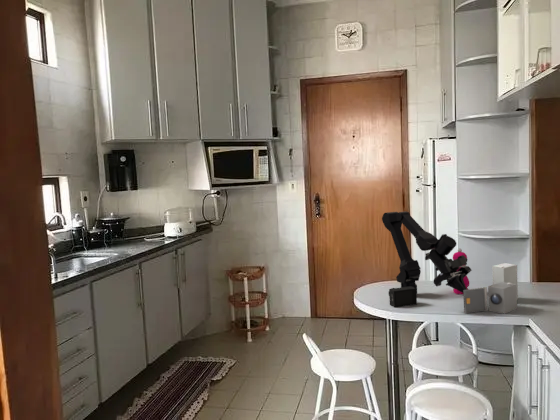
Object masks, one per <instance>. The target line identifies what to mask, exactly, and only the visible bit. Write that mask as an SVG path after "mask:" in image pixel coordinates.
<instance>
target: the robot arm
mask: <svg viewBox="0 0 560 420" xmlns="http://www.w3.org/2000/svg"><path fill="white" fill-rule="evenodd" d="M381 221H382V223H383V225H384V227H385V229H387V230H388V231H389V232H390V235H391V237H392V240H393V243H394V245H395V249H396V252H397V255H398V257H399V260H400V263H399V273H398V274H397V276H395V278H396V282H398V283H400V288H401V287H409V286H412V287H414V288H416V294H418V284H417V283H416V282H419V280H420V276H421V267H420V264H419V261H418V259H414V258H413V257H412V256H411V253H410V250H409V247H408V244H407V242H406V238H405V236H404V233H403V231H402V226H404V227H405V228H406V229H407V230H408V231H409V233H411V235H412V236H413V237H414V239H415V243H416V245H417V247H419V249H420V251H422V252H426V251H429V252H426V253H425V254H424V255H425V257H424V261H428V260H430V261H431V262H432V264H433V265H434V266H435V267H436V268H435V271H438V272H440V273H438V275H436V276H435V278H433V284H434V285H435V286H436V287H437V288H438V287H439V286H441V285H442V282H443V281H446V282H447V283H445V286H448V287H451V288H452V289H453V290H454V289H456V290H458V291H460V292H462V293H463V290H467V289H466V286H465V283H464V280H463V278H464V277H465V276H466V275H467V276H468V275H469V274H470V273H471V272H472V271H473V270H472V268H471V267H470V266H469V265H468V257H467V258H466V257H465V256H464V255H462V256H459V257H458V259H455V260H453V258H448V257H447V256H448V255H449V254H450V253H451V252H452V251H453V250H454V249H455V247H456V246H457V242H456V240H455V238H453V237H451V236H449V235H447V233H443V234H441V236H440V237H439V239H438V238H437V237H436V236H435V235H434V234H433V233H430V232H428V231H426V230H424V228H423V227H422V226H421V225H420V224H419V223H418V222H417V221H416V220H415V219H414V218H413V217H412V216H411V214H410V212H409V211H405V210H404V211H399V212H398V211H390V212H384V213H383V214H382V217H381ZM463 265H466V266H464V267H461V268H460V266H463ZM459 268H460V269H459ZM458 269H459V270H458ZM457 270H458V271H457Z"/></svg>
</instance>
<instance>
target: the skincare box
mask: <svg viewBox="0 0 560 420" xmlns="http://www.w3.org/2000/svg"><path fill="white" fill-rule="evenodd" d="M491 268H492V269H491V270H492V273H491V274H492V285H494V284H497V283H500V282H504V283H512V284H516V290H517V300H519V290H518V286H519V285H518V264H513V263H508V262H503V263H500V264H496V265H491Z"/></svg>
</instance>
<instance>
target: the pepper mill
mask: <svg viewBox="0 0 560 420" xmlns="http://www.w3.org/2000/svg"><path fill="white" fill-rule="evenodd" d="M462 255H464V256H465V257H466V258H467V259H468V256H467V253H465V252H464V251H462V248H457V251H456V252H454V253H453V254H452V260H455V259H458V257H459V256H462ZM464 266H467V265H463V266H460V268H461V267H464ZM460 268H459V269H460ZM459 269H458V270H459ZM458 270H457V271H458ZM463 280H464V283H465V286H466V289H469V288H468V287H469V286H470V280H469V278H468V274H467V275H466V276H465V277H464V278H463ZM453 293H454V294H456V295H463V293H462V292H460V291H458V290H456V289H454V288H453Z"/></svg>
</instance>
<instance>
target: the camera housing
mask: <svg viewBox="0 0 560 420" xmlns="http://www.w3.org/2000/svg"><path fill="white" fill-rule="evenodd" d="M487 298H488V311H490V312H494V313H498V314H503V313H504V315H505V314H507V313H510V312H512V311H514V310H517V309H518V304H517V303H518V299H517V290H516V284H512V283H504V282H500V283H497V284H494V285H493V284H491V285H488V287H487ZM509 311H510V312H509Z"/></svg>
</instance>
